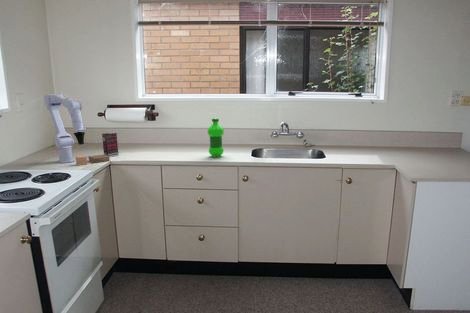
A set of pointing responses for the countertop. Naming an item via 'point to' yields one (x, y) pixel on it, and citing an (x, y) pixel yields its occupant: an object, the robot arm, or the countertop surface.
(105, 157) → the walnut base
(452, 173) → the countertop surface
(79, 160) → the terracotta cube
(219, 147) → the plastic bottle
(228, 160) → the countertop surface
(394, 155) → the countertop surface
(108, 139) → the supplement box
